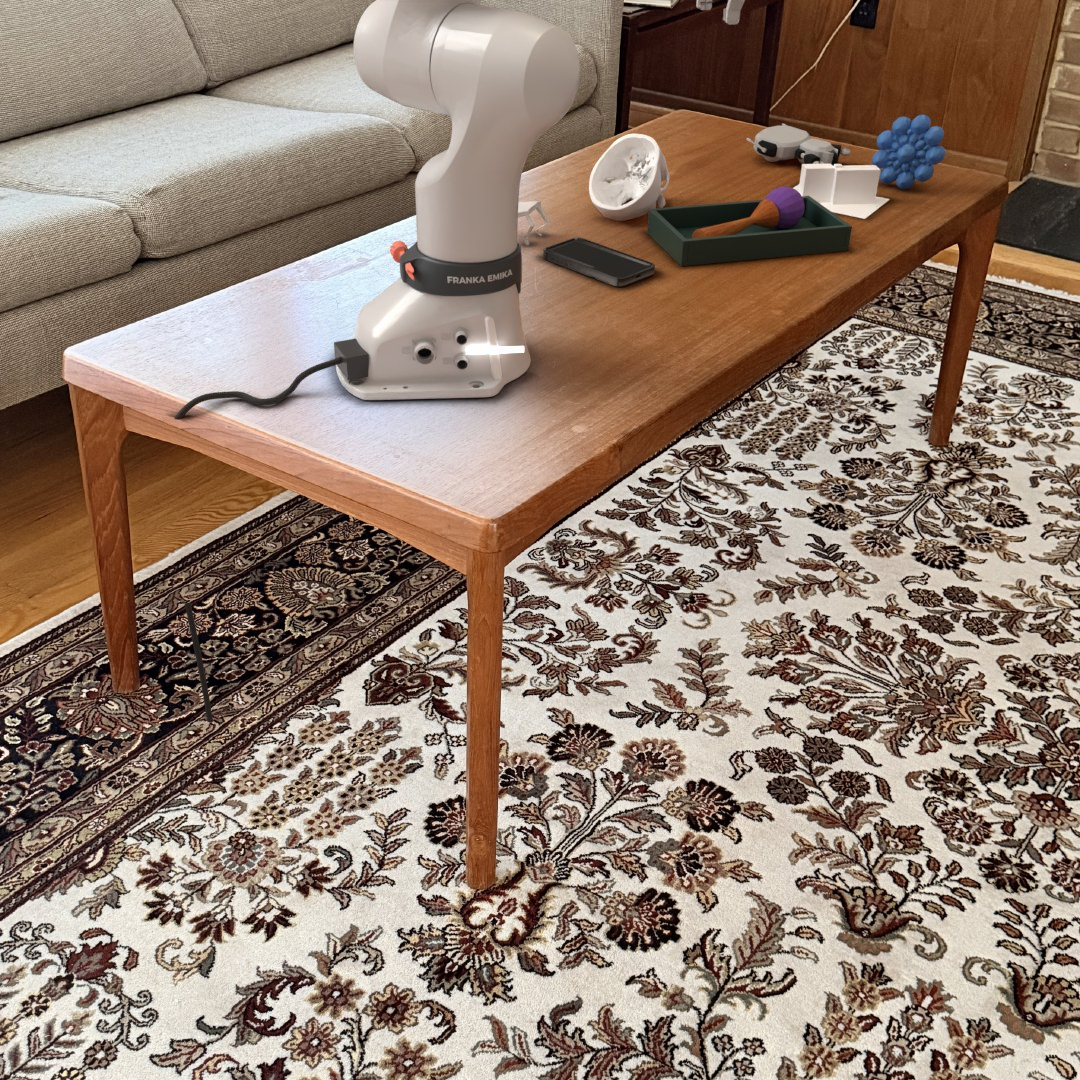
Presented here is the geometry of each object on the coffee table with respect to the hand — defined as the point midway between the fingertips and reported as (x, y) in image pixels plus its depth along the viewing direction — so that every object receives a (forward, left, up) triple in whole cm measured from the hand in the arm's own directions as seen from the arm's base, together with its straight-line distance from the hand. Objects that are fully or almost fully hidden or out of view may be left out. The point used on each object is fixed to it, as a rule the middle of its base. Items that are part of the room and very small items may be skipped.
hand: (716, 16), depth 167 cm
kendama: (+4, -9, -29) cm, 30 cm away
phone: (-20, -13, -29) cm, 38 cm away
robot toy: (+28, +24, -29) cm, 47 cm away
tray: (+4, -9, -29) cm, 31 cm away
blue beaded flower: (+39, +8, -29) cm, 50 cm away
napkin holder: (+25, +5, -29) cm, 39 cm away
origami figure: (-30, -1, -29) cm, 42 cm away
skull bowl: (-8, +7, -29) cm, 31 cm away
